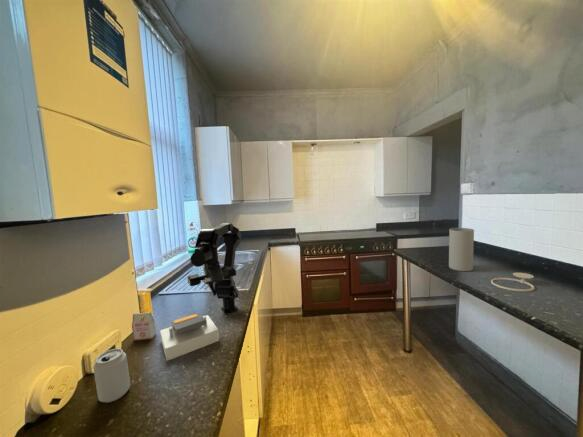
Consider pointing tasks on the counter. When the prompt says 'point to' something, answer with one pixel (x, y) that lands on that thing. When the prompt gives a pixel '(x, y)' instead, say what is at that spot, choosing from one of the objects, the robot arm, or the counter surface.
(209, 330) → the breaker housing
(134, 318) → the printed cardboard box
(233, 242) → the robot arm
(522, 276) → the hand towel holder
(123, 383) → the can
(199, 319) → the rocker switch
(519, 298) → the counter surface
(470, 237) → the cylinder vase
